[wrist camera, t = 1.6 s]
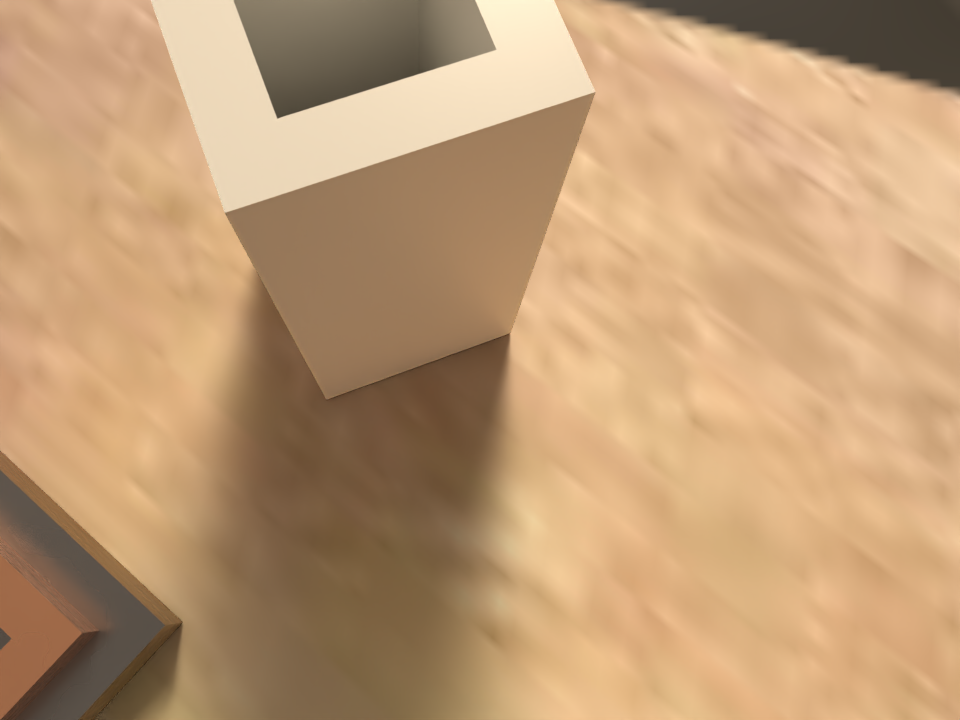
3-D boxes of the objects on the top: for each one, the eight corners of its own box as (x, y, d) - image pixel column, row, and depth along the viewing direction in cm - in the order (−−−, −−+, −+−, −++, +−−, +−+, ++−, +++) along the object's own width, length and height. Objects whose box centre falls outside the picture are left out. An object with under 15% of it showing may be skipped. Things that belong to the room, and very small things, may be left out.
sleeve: (510, 333, 24) (595, 91, 12) (326, 399, 23) (224, 213, 11) (442, 165, 25) (459, -209, 13) (263, 224, 24) (110, -116, 12)
